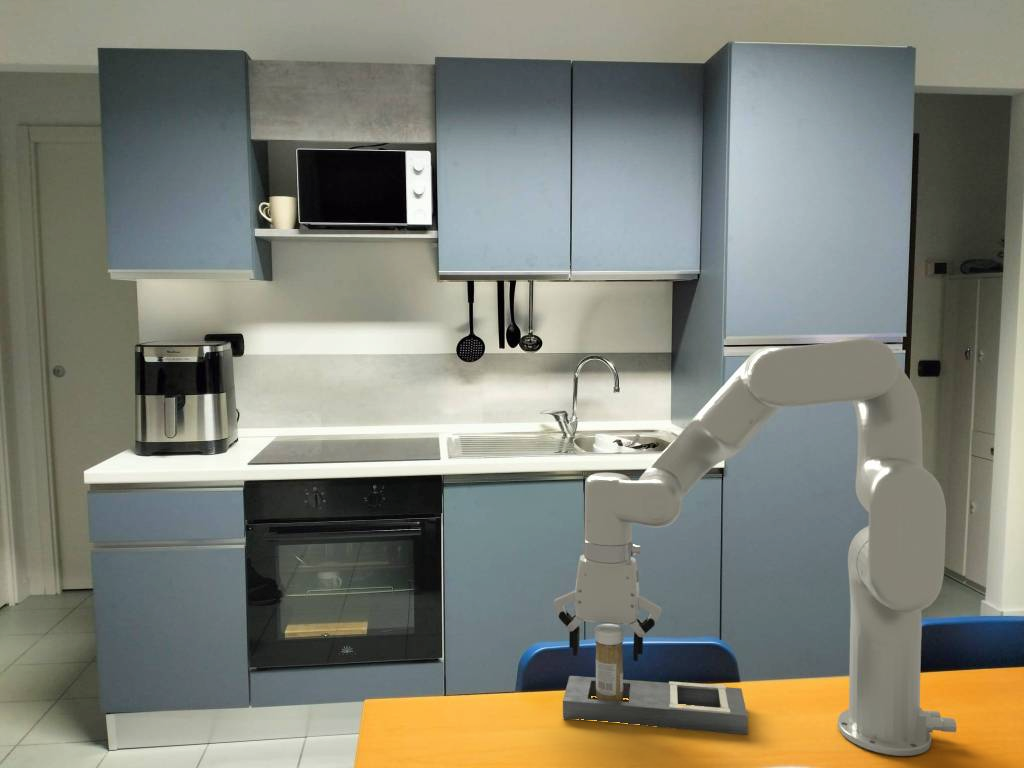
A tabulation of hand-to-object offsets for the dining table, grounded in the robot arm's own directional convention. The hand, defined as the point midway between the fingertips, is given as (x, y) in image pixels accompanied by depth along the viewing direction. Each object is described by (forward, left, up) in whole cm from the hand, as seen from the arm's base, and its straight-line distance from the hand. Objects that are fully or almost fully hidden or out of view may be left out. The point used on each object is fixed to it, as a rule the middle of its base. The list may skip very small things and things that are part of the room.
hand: (605, 655), depth 123 cm
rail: (-8, 0, -9) cm, 12 cm away
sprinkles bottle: (-1, 0, -9) cm, 9 cm away
